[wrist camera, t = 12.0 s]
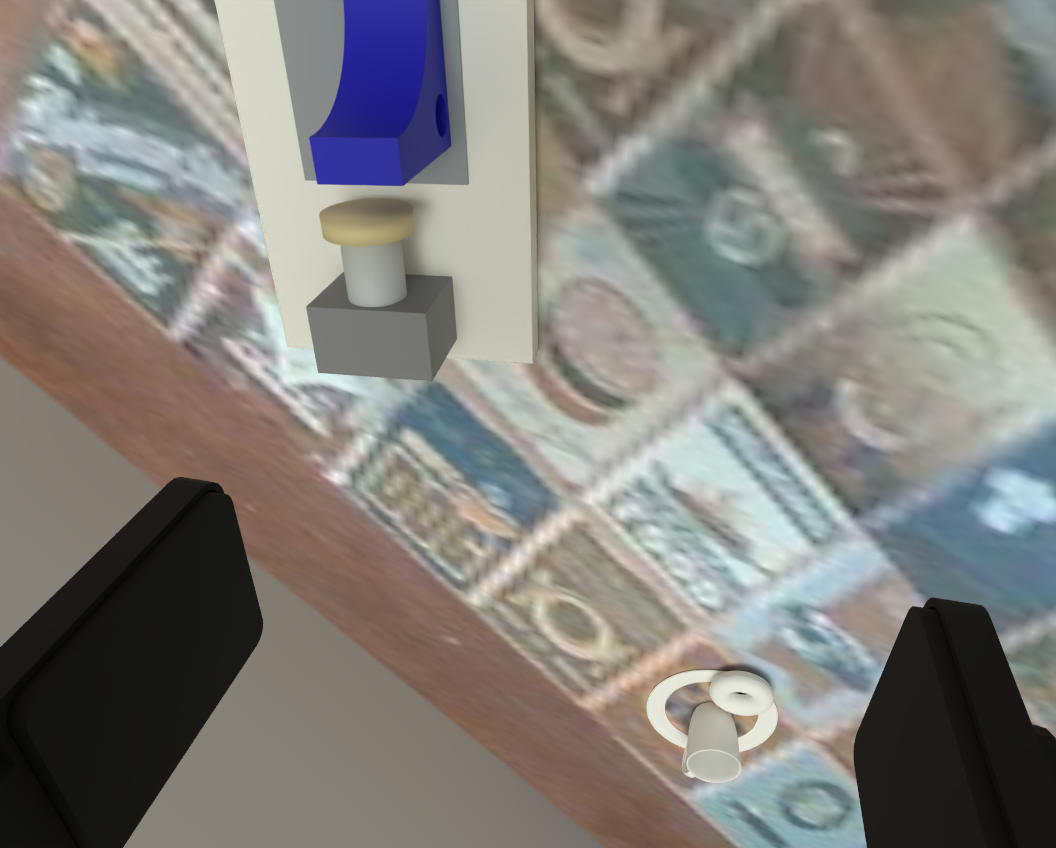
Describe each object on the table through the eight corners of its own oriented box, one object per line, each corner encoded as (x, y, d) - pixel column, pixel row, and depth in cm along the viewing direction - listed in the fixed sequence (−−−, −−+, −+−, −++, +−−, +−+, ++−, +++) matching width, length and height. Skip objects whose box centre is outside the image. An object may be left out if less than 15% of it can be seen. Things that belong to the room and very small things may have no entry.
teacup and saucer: (747, 643, 44) (752, 701, 40) (813, 723, 46) (823, 785, 43) (622, 686, 48) (617, 743, 44) (689, 759, 50) (689, 817, 47)
